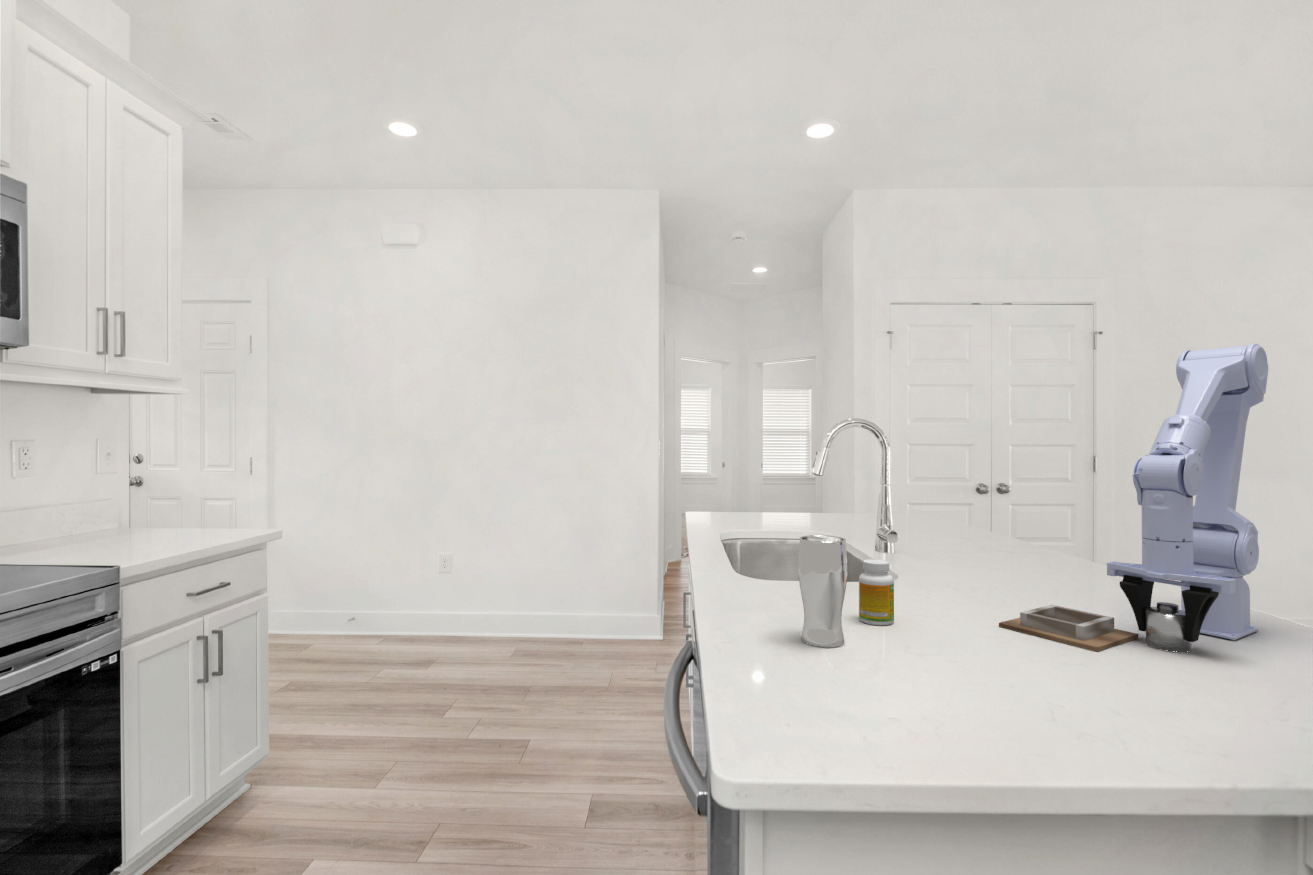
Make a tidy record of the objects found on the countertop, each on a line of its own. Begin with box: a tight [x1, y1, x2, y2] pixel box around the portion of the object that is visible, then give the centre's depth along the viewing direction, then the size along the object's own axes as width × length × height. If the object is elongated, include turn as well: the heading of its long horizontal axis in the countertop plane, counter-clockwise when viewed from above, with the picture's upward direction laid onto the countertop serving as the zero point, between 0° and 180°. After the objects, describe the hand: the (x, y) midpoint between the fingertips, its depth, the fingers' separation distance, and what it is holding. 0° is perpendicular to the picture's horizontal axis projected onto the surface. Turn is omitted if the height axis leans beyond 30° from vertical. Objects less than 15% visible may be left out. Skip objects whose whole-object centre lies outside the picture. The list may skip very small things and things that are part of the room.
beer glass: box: [797, 534, 848, 648], centre depth 93 cm, size 7×7×15 cm
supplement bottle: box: [858, 558, 895, 626], centre depth 104 cm, size 5×5×10 cm
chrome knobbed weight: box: [1145, 601, 1192, 653], centre depth 91 cm, size 5×5×6 cm
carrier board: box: [998, 604, 1139, 652], centre depth 97 cm, size 12×14×3 cm
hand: (1167, 635), depth 91 cm, fingers closed on chrome knobbed weight, 5 cm apart
